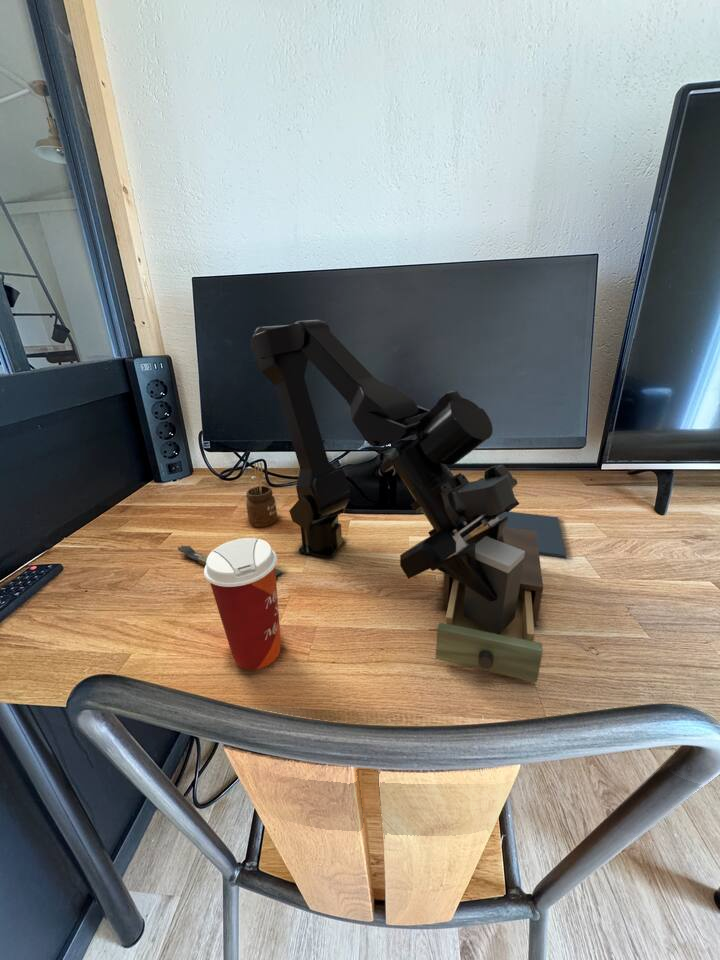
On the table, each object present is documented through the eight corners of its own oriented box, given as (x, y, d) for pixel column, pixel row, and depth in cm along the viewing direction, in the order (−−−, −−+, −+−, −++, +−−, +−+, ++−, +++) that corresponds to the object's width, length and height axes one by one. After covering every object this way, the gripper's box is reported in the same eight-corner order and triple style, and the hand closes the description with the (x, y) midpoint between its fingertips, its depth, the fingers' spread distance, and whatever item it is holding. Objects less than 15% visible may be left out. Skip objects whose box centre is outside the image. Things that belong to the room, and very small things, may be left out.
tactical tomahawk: (283, 575, 67) (283, 570, 67) (254, 595, 62) (253, 589, 62) (204, 540, 78) (204, 535, 78) (173, 554, 73) (172, 549, 72)
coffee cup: (297, 661, 50) (284, 561, 44) (230, 688, 47) (206, 584, 41) (279, 619, 57) (265, 528, 51) (220, 640, 54) (197, 545, 48)
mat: (447, 541, 74) (447, 538, 74) (455, 507, 86) (455, 505, 86) (565, 558, 68) (566, 555, 68) (557, 519, 80) (557, 517, 80)
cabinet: (536, 626, 54) (543, 587, 51) (442, 608, 58) (444, 570, 55) (530, 565, 67) (536, 531, 64) (454, 553, 70) (456, 520, 68)
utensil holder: (246, 529, 81) (237, 474, 76) (251, 514, 87) (243, 463, 82) (276, 526, 82) (268, 472, 77) (279, 512, 87) (272, 461, 83)
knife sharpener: (462, 615, 51) (468, 549, 47) (478, 600, 53) (485, 535, 49) (499, 635, 47) (509, 566, 44) (514, 618, 50) (525, 550, 46)
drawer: (537, 692, 44) (544, 659, 42) (433, 667, 47) (435, 636, 46) (531, 604, 57) (535, 576, 55) (449, 590, 60) (451, 563, 58)
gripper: (423, 473, 38) (520, 618, 36) (513, 430, 50) (590, 536, 47) (367, 518, 47) (441, 639, 44) (455, 472, 59) (518, 565, 56)
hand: (502, 591), depth 48 cm, fingers closed on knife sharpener, 4 cm apart
